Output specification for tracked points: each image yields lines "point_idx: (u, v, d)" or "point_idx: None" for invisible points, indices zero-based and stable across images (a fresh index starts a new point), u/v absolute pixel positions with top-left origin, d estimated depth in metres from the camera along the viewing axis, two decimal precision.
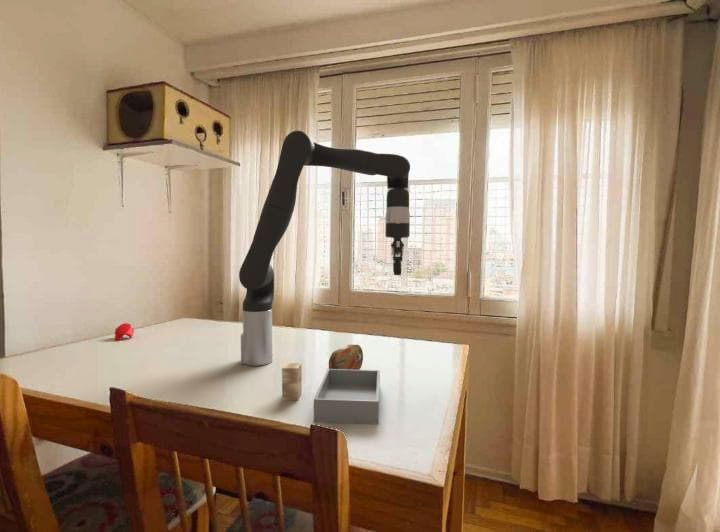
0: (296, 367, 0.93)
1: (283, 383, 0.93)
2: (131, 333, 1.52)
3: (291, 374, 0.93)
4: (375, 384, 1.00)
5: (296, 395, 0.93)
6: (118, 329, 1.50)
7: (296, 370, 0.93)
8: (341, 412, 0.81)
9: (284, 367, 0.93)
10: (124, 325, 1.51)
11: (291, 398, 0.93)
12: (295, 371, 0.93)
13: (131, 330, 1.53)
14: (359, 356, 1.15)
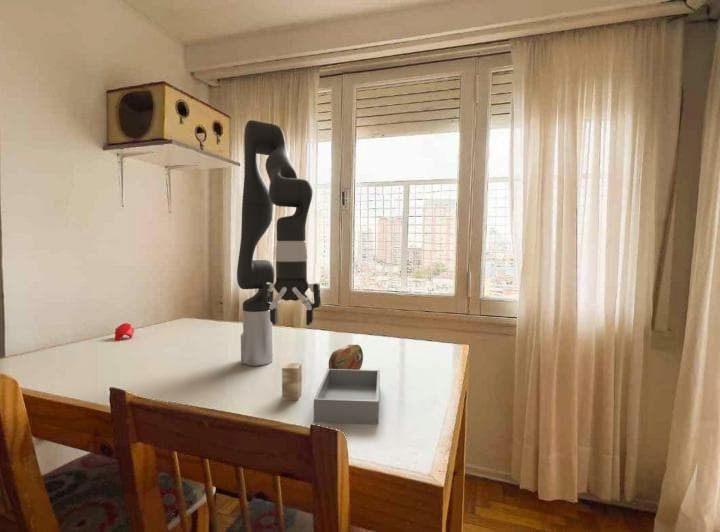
0: (296, 367, 0.93)
1: (283, 383, 0.93)
2: (131, 333, 1.52)
3: (291, 374, 0.93)
4: (375, 384, 1.00)
5: (296, 395, 0.93)
6: (118, 329, 1.50)
7: (296, 370, 0.93)
8: (341, 412, 0.81)
9: (284, 367, 0.93)
10: (124, 325, 1.51)
11: (291, 398, 0.93)
12: (295, 371, 0.93)
13: (131, 330, 1.53)
14: (359, 356, 1.15)
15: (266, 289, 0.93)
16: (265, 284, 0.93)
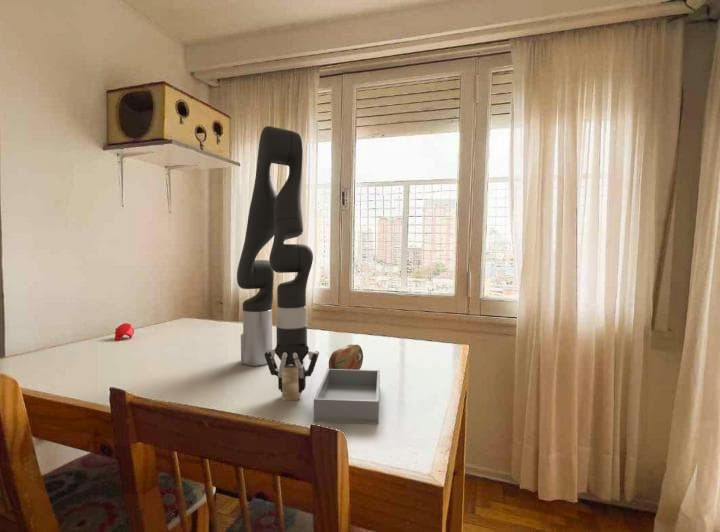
0: None
1: (283, 383, 0.93)
2: (131, 333, 1.52)
3: (291, 374, 0.93)
4: (375, 384, 1.00)
5: (296, 395, 0.93)
6: (118, 329, 1.50)
7: (296, 370, 0.92)
8: (341, 412, 0.81)
9: (284, 367, 0.93)
10: (124, 325, 1.51)
11: (291, 398, 0.93)
12: (295, 371, 0.93)
13: (131, 330, 1.53)
14: (359, 356, 1.15)
15: (269, 358, 0.94)
16: (266, 353, 0.94)
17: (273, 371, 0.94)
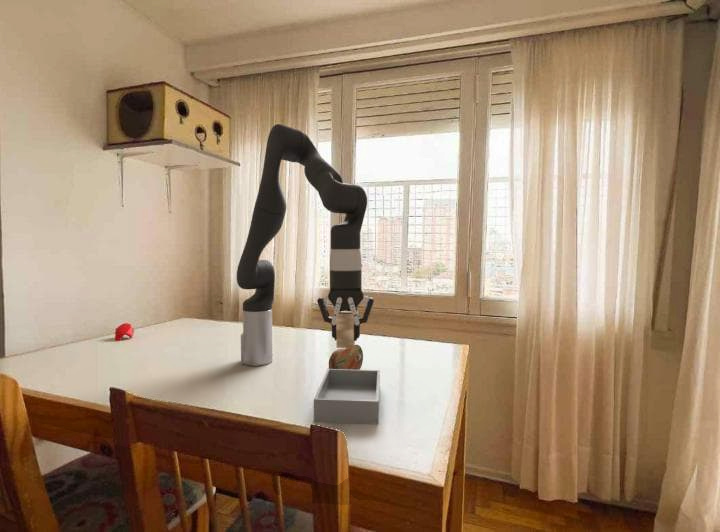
0: (350, 313, 0.88)
1: (337, 330, 0.88)
2: (131, 333, 1.52)
3: (346, 320, 0.88)
4: (375, 384, 1.00)
5: (351, 342, 0.88)
6: (118, 329, 1.50)
7: (351, 316, 0.88)
8: (341, 412, 0.81)
9: None
10: (124, 325, 1.51)
11: (346, 346, 0.88)
12: (350, 316, 0.88)
13: (131, 330, 1.53)
14: (359, 356, 1.15)
15: (322, 304, 0.89)
16: (319, 299, 0.89)
17: (326, 318, 0.89)
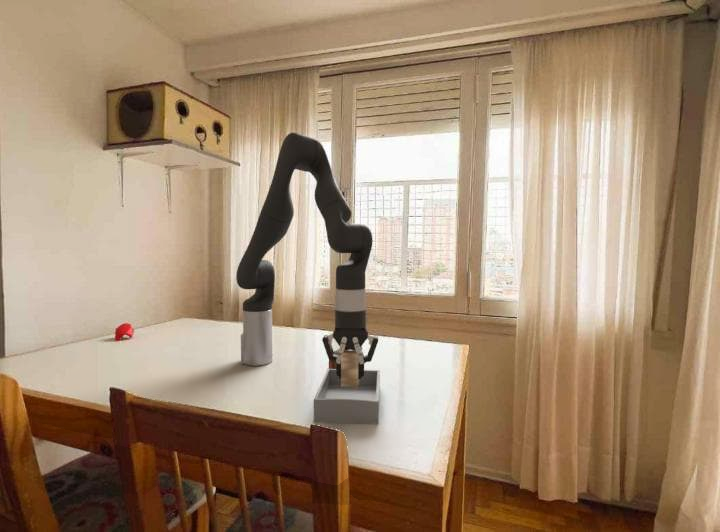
0: (355, 352, 0.89)
1: (342, 369, 0.89)
2: (131, 333, 1.52)
3: (351, 359, 0.88)
4: (375, 384, 1.00)
5: (356, 381, 0.89)
6: (118, 329, 1.50)
7: (356, 355, 0.88)
8: (341, 412, 0.81)
9: None
10: (124, 325, 1.51)
11: (351, 385, 0.89)
12: (355, 356, 0.88)
13: (131, 330, 1.53)
14: None
15: (327, 343, 0.89)
16: (324, 338, 0.89)
17: (331, 357, 0.89)
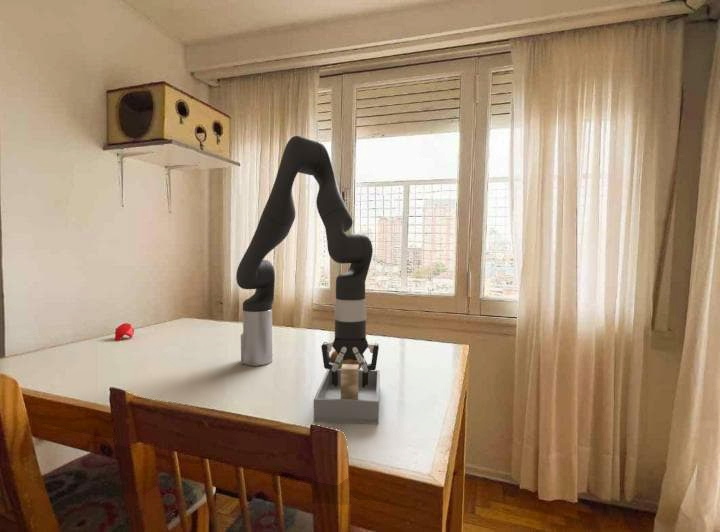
0: (355, 368, 0.89)
1: (342, 385, 0.89)
2: (131, 333, 1.52)
3: (350, 376, 0.89)
4: (375, 384, 1.00)
5: (355, 398, 0.89)
6: (118, 329, 1.50)
7: (356, 372, 0.89)
8: (341, 412, 0.81)
9: (343, 368, 0.89)
10: (124, 325, 1.51)
11: None
12: (355, 372, 0.89)
13: (131, 330, 1.53)
14: None
15: (325, 350, 0.90)
16: (323, 345, 0.89)
17: (327, 365, 0.90)
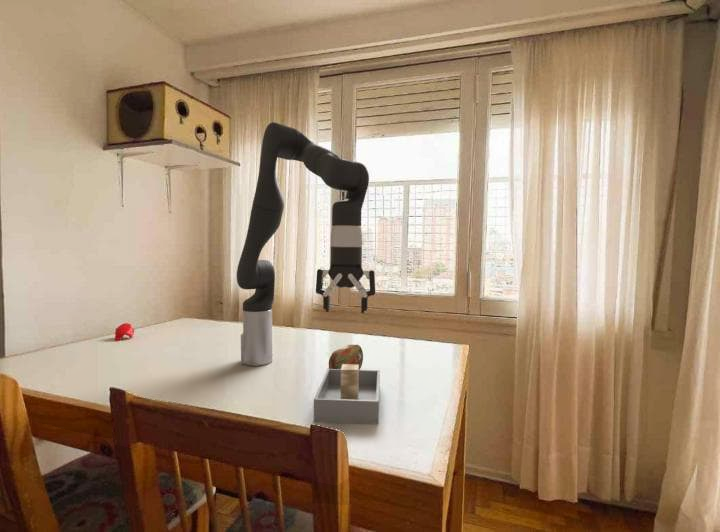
0: (355, 368, 0.89)
1: (342, 385, 0.89)
2: (131, 333, 1.52)
3: (350, 376, 0.89)
4: (375, 384, 1.00)
5: (355, 398, 0.89)
6: (118, 329, 1.50)
7: (356, 372, 0.89)
8: (341, 412, 0.81)
9: (343, 368, 0.89)
10: (124, 325, 1.51)
11: None
12: (355, 372, 0.89)
13: (131, 330, 1.53)
14: (359, 356, 1.15)
15: (320, 275, 0.90)
16: (319, 270, 0.90)
17: (318, 289, 0.90)
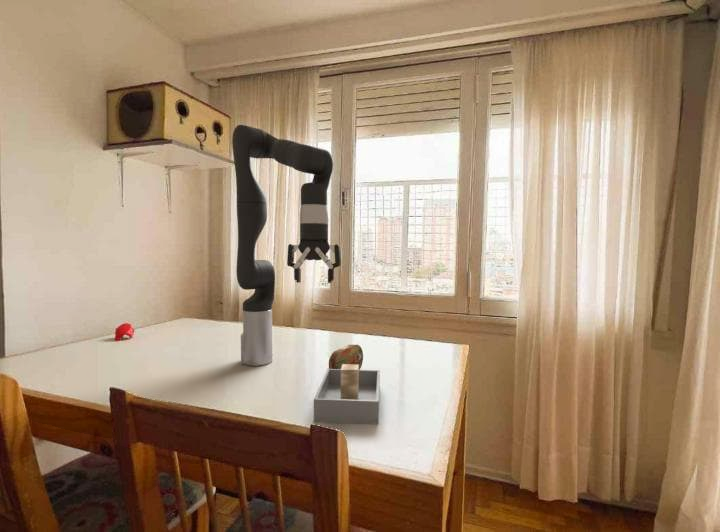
0: (355, 368, 0.89)
1: (342, 385, 0.89)
2: (131, 333, 1.52)
3: (350, 376, 0.89)
4: (375, 384, 1.00)
5: (355, 398, 0.89)
6: (118, 329, 1.50)
7: (356, 372, 0.89)
8: (341, 412, 0.81)
9: (343, 368, 0.89)
10: (124, 325, 1.51)
11: None
12: (355, 372, 0.89)
13: (131, 330, 1.53)
14: (359, 356, 1.15)
15: (291, 249, 1.01)
16: (290, 245, 1.01)
17: (289, 262, 1.01)
